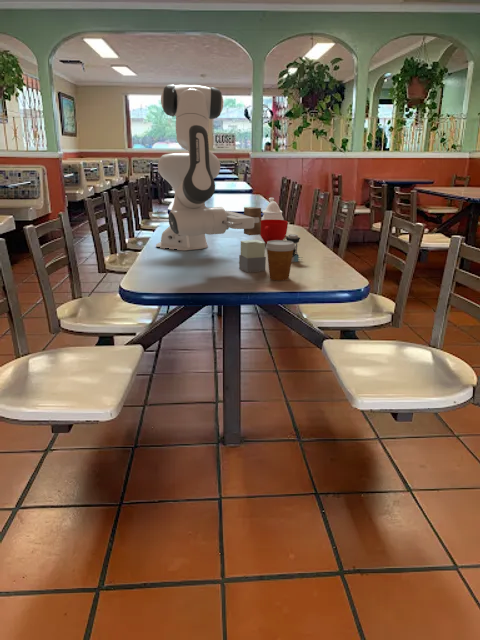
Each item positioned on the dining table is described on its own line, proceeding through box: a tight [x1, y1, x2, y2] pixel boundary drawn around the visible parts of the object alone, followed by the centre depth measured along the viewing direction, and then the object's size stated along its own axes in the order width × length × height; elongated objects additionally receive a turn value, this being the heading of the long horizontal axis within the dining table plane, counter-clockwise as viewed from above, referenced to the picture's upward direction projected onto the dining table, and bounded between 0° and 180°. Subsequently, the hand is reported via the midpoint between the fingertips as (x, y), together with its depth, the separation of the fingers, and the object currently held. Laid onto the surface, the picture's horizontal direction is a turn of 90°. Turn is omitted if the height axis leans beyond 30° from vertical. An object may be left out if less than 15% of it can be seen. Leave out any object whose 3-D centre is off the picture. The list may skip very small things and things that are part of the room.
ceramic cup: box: [260, 219, 288, 245], centre depth 223 cm, size 13×17×10 cm
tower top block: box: [240, 239, 266, 258], centre depth 174 cm, size 6×6×5 cm
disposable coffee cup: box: [265, 239, 296, 282], centre depth 163 cm, size 10×10×12 cm
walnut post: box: [243, 206, 262, 236], centre depth 171 cm, size 4×4×9 cm
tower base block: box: [238, 254, 267, 273], centre depth 176 cm, size 7×7×5 cm
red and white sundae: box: [259, 197, 285, 237], centre depth 245 cm, size 13×13×18 cm
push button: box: [285, 234, 303, 263], centre depth 188 cm, size 7×5×10 cm
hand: (254, 218), depth 171 cm, fingers closed on walnut post, 4 cm apart
